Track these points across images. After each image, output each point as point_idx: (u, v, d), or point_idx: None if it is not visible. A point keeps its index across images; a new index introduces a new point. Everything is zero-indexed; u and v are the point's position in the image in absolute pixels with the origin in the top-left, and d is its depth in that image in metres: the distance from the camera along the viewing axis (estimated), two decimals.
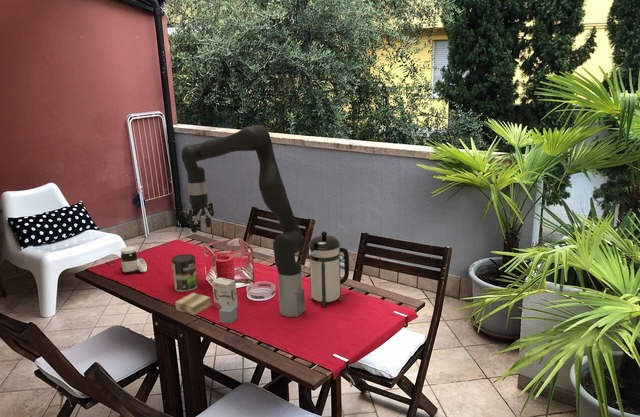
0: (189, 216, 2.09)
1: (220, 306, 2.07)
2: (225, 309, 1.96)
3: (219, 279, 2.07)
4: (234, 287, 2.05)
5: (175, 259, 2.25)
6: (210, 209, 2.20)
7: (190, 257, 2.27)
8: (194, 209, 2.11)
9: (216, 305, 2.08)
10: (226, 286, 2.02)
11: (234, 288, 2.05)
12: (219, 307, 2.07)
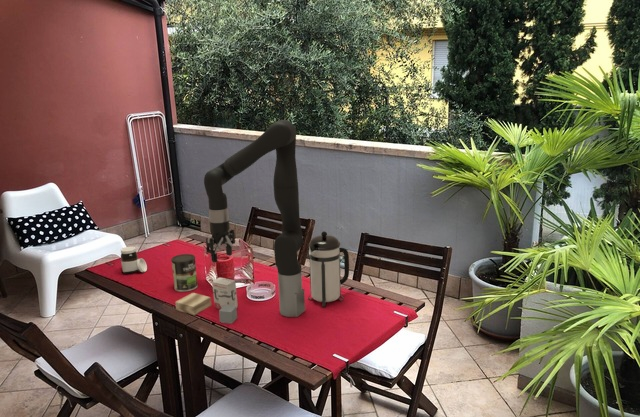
0: (210, 245, 1.95)
1: (220, 306, 2.07)
2: (225, 309, 1.96)
3: (219, 279, 2.07)
4: (234, 287, 2.05)
5: (175, 259, 2.25)
6: (231, 236, 2.06)
7: (190, 257, 2.27)
8: (215, 237, 1.97)
9: (216, 305, 2.08)
10: (226, 286, 2.02)
11: (234, 288, 2.05)
12: (219, 307, 2.07)
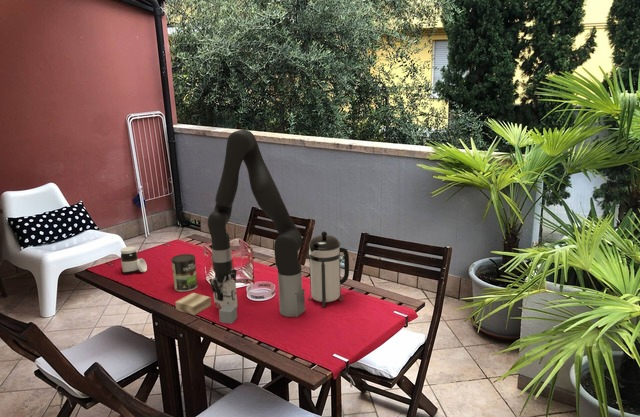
0: (214, 286, 2.00)
1: (220, 306, 2.07)
2: (225, 309, 1.96)
3: None
4: (234, 287, 2.05)
5: (175, 259, 2.25)
6: (233, 276, 2.09)
7: (190, 257, 2.27)
8: (218, 277, 2.01)
9: (216, 305, 2.08)
10: (226, 286, 2.02)
11: (234, 288, 2.05)
12: (219, 307, 2.07)
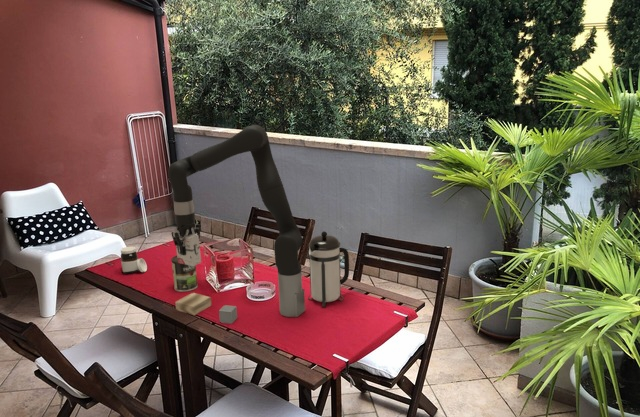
0: (176, 239, 1.96)
1: (183, 261, 2.03)
2: (225, 309, 1.96)
3: None
4: (197, 241, 2.01)
5: (175, 259, 2.25)
6: (197, 231, 2.05)
7: None
8: (180, 230, 1.97)
9: (180, 260, 2.03)
10: (188, 239, 1.98)
11: (197, 242, 2.01)
12: (182, 262, 2.03)
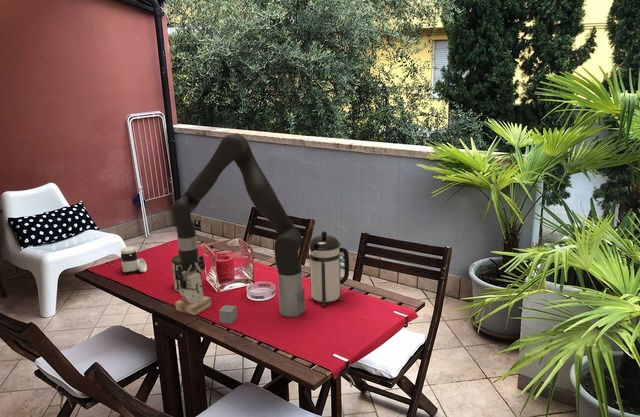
0: (178, 273, 1.99)
1: (186, 299, 2.06)
2: (225, 309, 1.96)
3: None
4: (199, 280, 2.04)
5: (175, 259, 2.25)
6: (201, 263, 2.09)
7: None
8: (184, 265, 2.01)
9: (182, 297, 2.07)
10: (190, 279, 2.01)
11: (199, 281, 2.04)
12: (185, 300, 2.07)
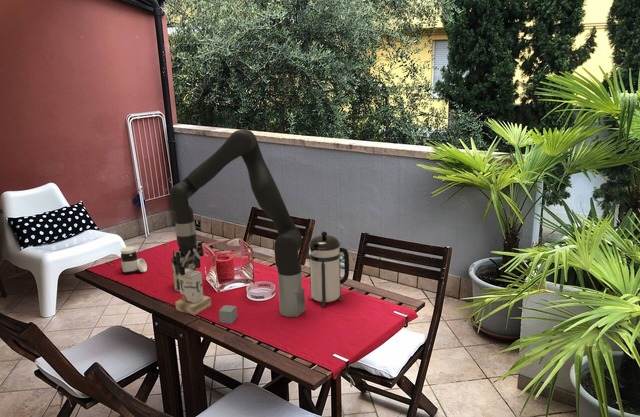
0: (176, 259, 1.97)
1: (185, 297, 2.07)
2: (225, 309, 1.96)
3: (186, 270, 2.07)
4: (200, 278, 2.05)
5: None
6: (199, 249, 2.08)
7: (190, 257, 2.27)
8: (182, 251, 1.99)
9: (182, 296, 2.07)
10: (191, 277, 2.02)
11: (200, 280, 2.05)
12: (185, 298, 2.07)
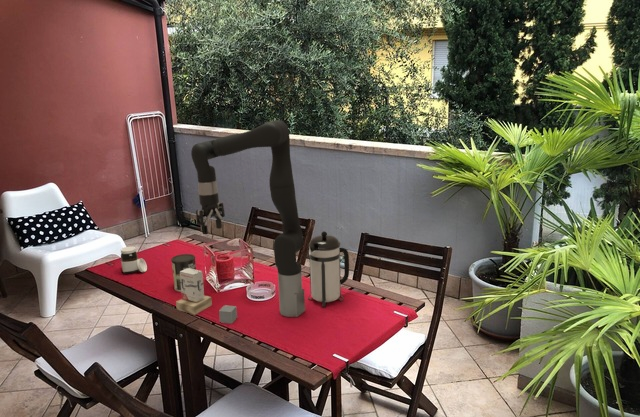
0: (200, 217, 2.00)
1: (186, 296, 2.07)
2: (225, 309, 1.96)
3: (187, 269, 2.08)
4: (201, 277, 2.06)
5: (175, 259, 2.25)
6: (220, 210, 2.11)
7: (190, 257, 2.27)
8: (205, 210, 2.02)
9: (183, 295, 2.08)
10: (192, 275, 2.03)
11: (201, 278, 2.06)
12: (185, 297, 2.08)
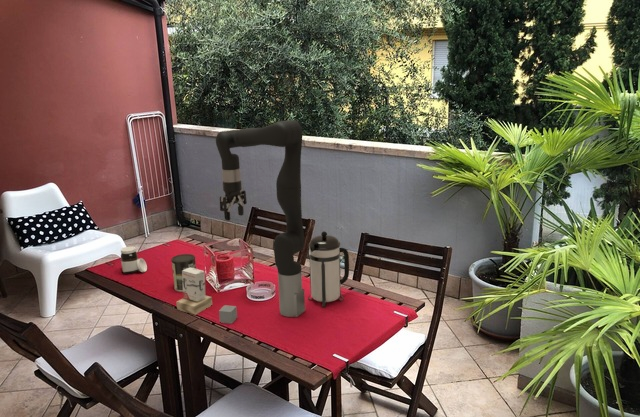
0: (223, 203, 2.05)
1: (188, 296, 2.07)
2: (225, 309, 1.96)
3: (189, 269, 2.09)
4: (203, 277, 2.06)
5: (175, 259, 2.25)
6: (243, 197, 2.16)
7: (190, 257, 2.27)
8: (228, 196, 2.07)
9: (184, 294, 2.08)
10: (194, 275, 2.03)
11: (203, 278, 2.06)
12: (187, 297, 2.08)
